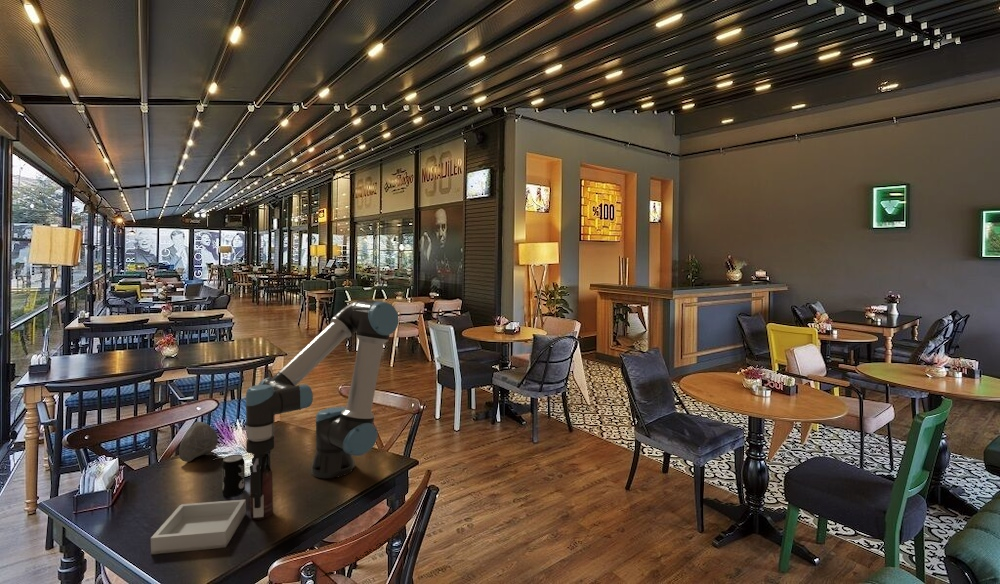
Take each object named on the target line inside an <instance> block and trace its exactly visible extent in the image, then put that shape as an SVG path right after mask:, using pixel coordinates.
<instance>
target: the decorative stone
mask: <svg viewBox="0 0 1000 584" xmlns="http://www.w3.org/2000/svg"><path fill="white" fill-rule="evenodd" d="M218 436H219V435H218V434H217V432H216V430H215V429H214V428H213V427H212V426H210V425H209V424H207V423H206V422H203V421H195V422H194V424H192V425H191V426H190V427H189V428H188V430H186V432H185V434H184V435H183V438H182V440H181V442H180V443H179V448H178V449H179V450H178V456H179V459H180V460H181V461H182V462H185V463H190V462H192V461H194V459H195V458H199V457H200V456H204V455H208V454H212V453H213V452H211V451H212V449H214V448H215V449H216V448H217V444H218V440H219V438H218Z"/></svg>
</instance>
